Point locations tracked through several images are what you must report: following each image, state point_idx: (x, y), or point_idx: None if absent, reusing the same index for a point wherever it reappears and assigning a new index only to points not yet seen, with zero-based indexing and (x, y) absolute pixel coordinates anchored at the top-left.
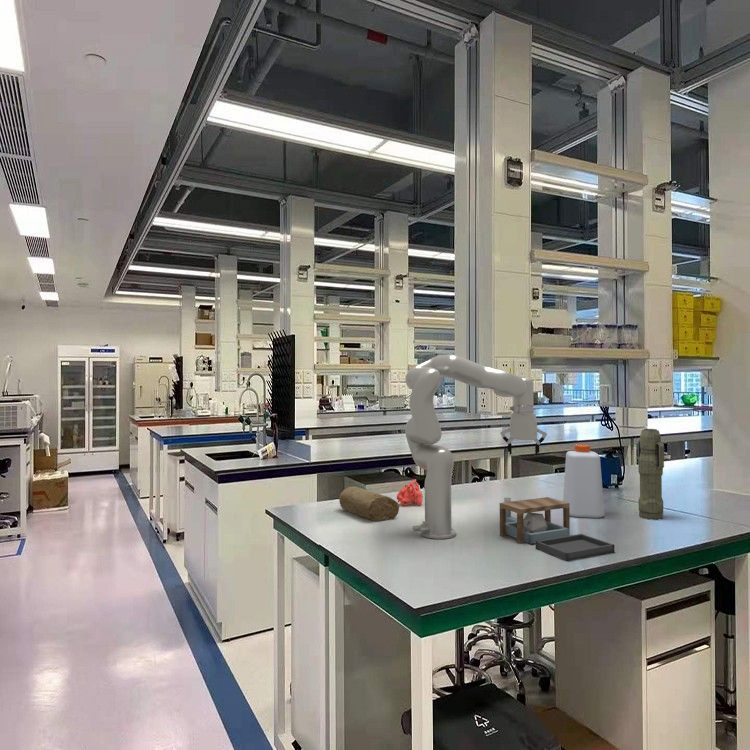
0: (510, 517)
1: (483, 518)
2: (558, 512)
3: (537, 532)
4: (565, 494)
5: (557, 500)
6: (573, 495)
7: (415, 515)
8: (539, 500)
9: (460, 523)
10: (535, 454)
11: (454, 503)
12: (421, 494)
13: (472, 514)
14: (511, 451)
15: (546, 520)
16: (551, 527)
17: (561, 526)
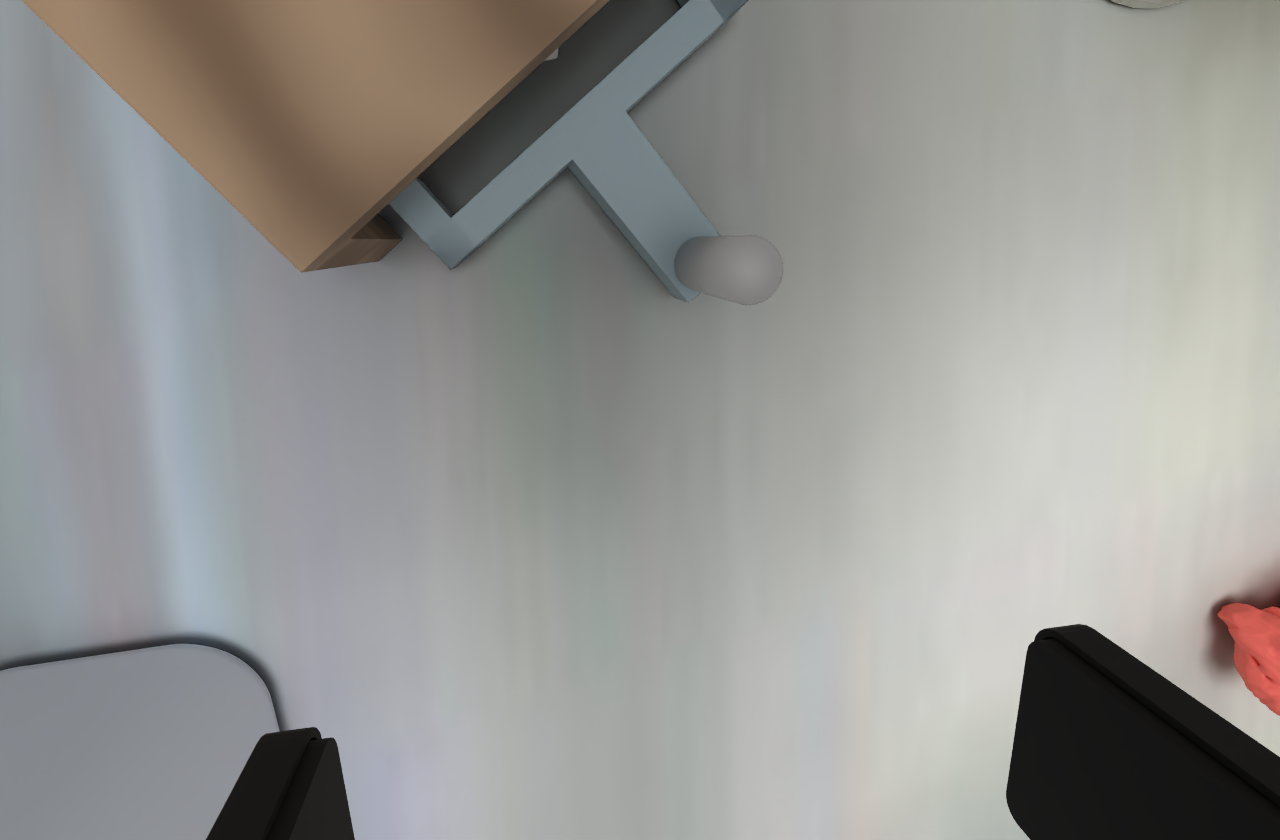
0: (677, 241)
1: (849, 416)
2: None
3: None
4: (207, 835)
5: (149, 82)
6: (103, 770)
7: (1260, 368)
8: (384, 32)
9: (1001, 233)
10: (340, 774)
11: None
12: (1275, 687)
13: (918, 501)
14: (1093, 677)
15: (372, 220)
16: None
17: None
